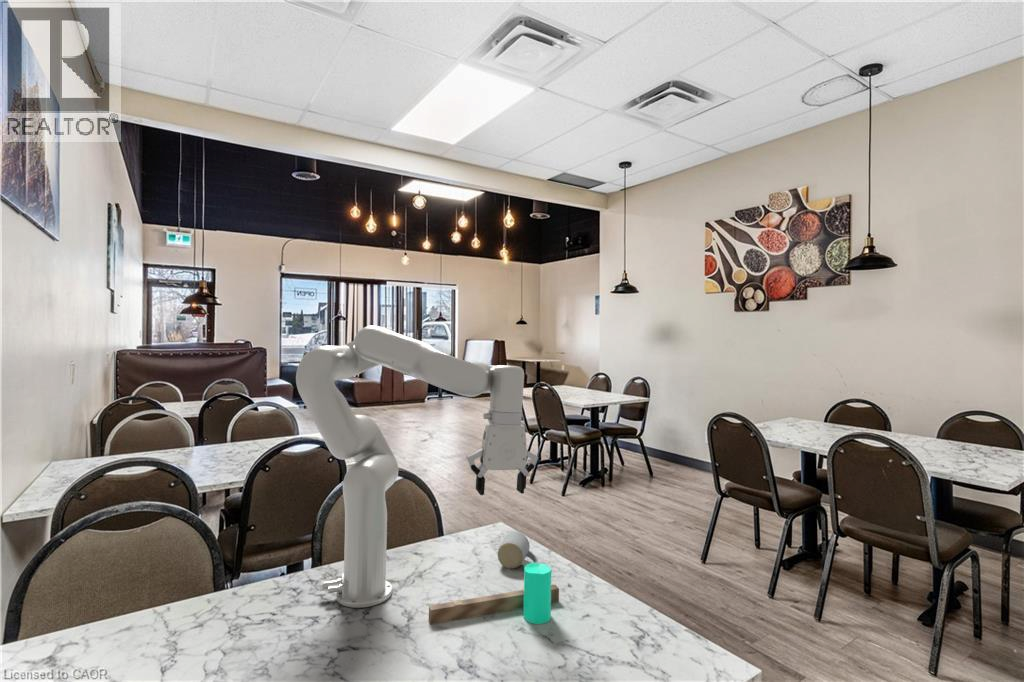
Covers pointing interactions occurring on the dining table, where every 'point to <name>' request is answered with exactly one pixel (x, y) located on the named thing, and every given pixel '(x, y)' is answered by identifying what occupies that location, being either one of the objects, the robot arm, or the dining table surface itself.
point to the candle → (537, 593)
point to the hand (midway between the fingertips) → (500, 492)
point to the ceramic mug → (515, 550)
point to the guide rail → (481, 606)
